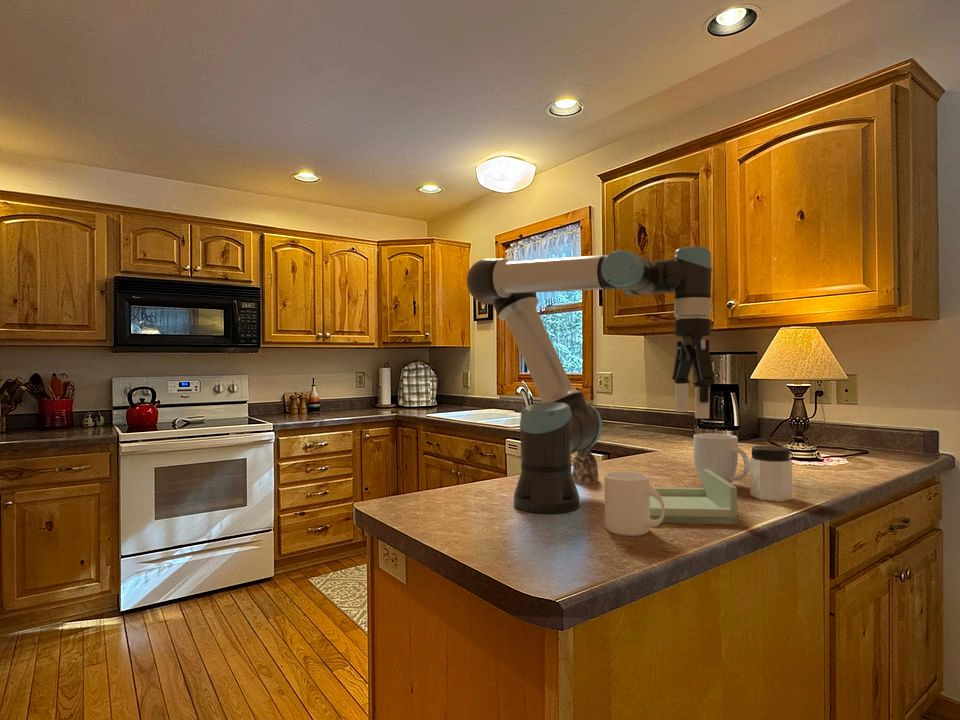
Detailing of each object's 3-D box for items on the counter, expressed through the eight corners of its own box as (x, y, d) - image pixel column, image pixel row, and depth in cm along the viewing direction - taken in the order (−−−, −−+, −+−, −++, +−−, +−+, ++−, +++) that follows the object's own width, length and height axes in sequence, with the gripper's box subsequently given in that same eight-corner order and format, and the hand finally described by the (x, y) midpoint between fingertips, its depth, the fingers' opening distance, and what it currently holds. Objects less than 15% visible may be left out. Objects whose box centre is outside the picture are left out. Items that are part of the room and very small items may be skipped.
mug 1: (654, 543, 102) (653, 484, 102) (596, 530, 110) (596, 476, 110) (674, 533, 108) (673, 477, 108) (618, 521, 117) (618, 469, 117)
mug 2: (761, 488, 145) (760, 437, 145) (736, 494, 139) (735, 441, 139) (709, 478, 158) (709, 432, 158) (685, 483, 151) (684, 435, 152)
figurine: (567, 482, 155) (567, 438, 155) (578, 477, 161) (577, 435, 161) (592, 485, 151) (591, 440, 151) (602, 480, 157) (601, 437, 157)
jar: (744, 493, 140) (744, 445, 140) (776, 493, 140) (776, 444, 140) (764, 502, 131) (763, 451, 131) (798, 501, 131) (798, 450, 131)
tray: (643, 522, 115) (643, 486, 115) (629, 499, 135) (628, 468, 135) (737, 524, 113) (736, 487, 113) (708, 500, 133) (708, 469, 133)
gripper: (732, 314, 111) (731, 421, 111) (690, 321, 136) (689, 409, 136) (694, 314, 111) (692, 421, 111) (659, 321, 136) (658, 409, 136)
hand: (691, 414), depth 124 cm, fingers open, 13 cm apart
